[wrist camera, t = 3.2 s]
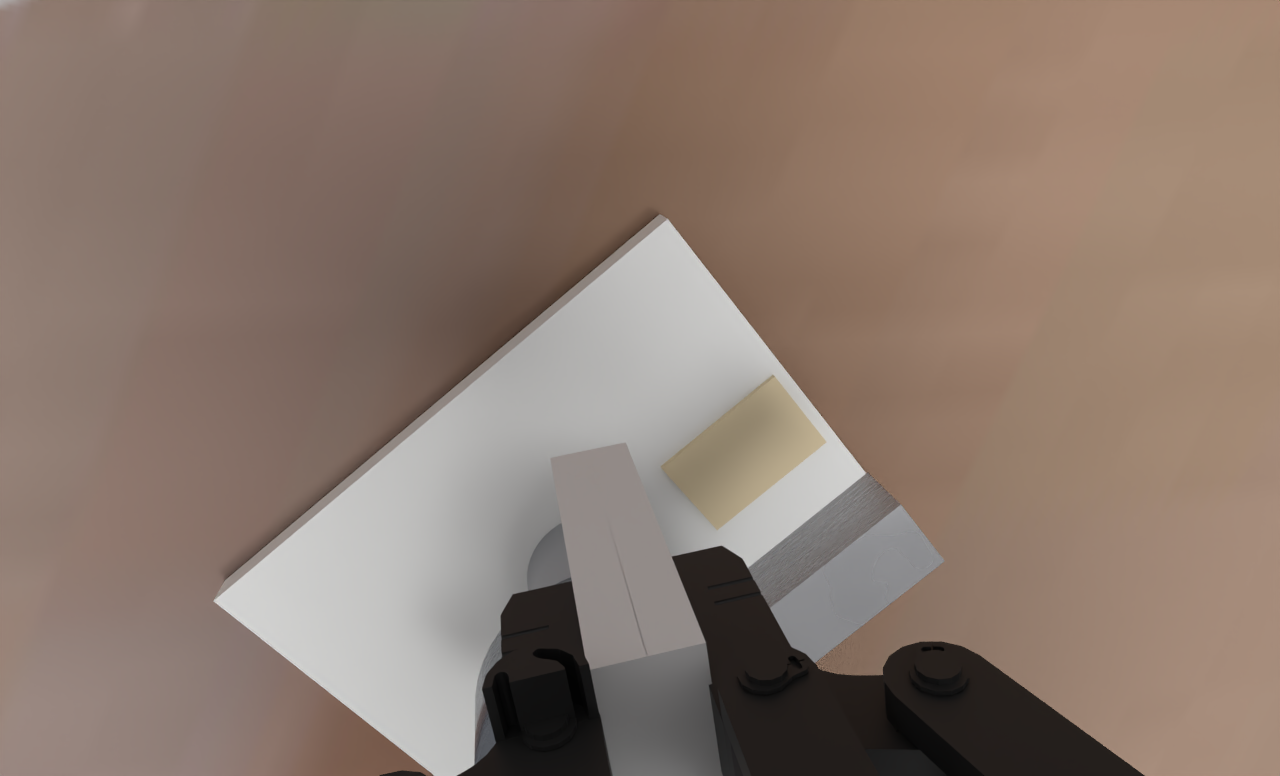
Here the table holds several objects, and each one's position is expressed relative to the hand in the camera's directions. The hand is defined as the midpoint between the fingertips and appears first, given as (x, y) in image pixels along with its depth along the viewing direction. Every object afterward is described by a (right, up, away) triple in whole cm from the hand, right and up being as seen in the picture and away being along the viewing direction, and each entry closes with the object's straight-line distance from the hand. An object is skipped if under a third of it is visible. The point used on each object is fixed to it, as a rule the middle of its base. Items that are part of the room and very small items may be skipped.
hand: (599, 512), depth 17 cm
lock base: (-1, -3, +12) cm, 13 cm away
